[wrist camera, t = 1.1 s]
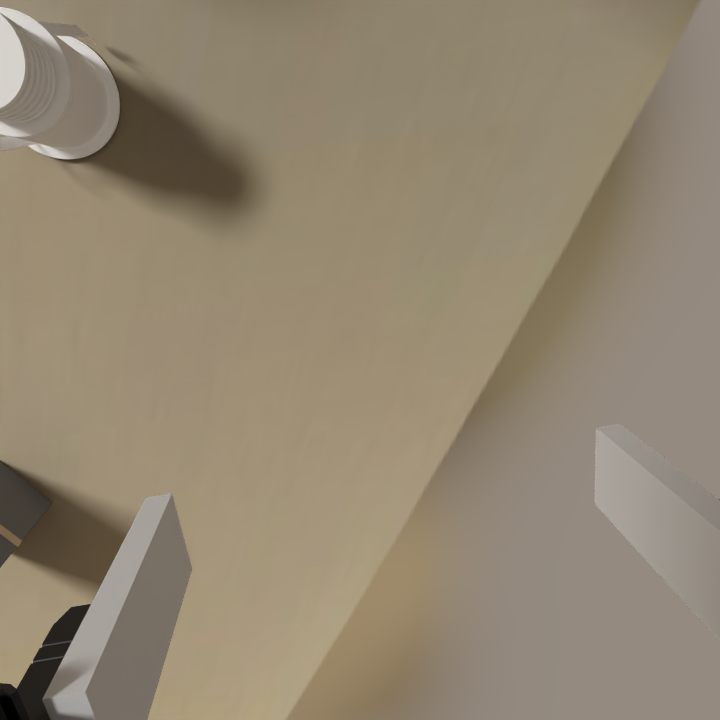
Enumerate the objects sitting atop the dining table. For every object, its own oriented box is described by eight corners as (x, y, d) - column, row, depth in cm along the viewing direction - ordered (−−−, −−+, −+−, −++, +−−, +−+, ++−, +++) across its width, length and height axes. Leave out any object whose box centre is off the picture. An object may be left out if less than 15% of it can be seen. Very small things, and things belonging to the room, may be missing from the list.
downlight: (76, 189, 34) (-6, 183, 25) (-29, 111, 33) (-161, 72, 23) (148, 86, 33) (92, 38, 24) (45, -1, 31) (-62, -91, 22)
